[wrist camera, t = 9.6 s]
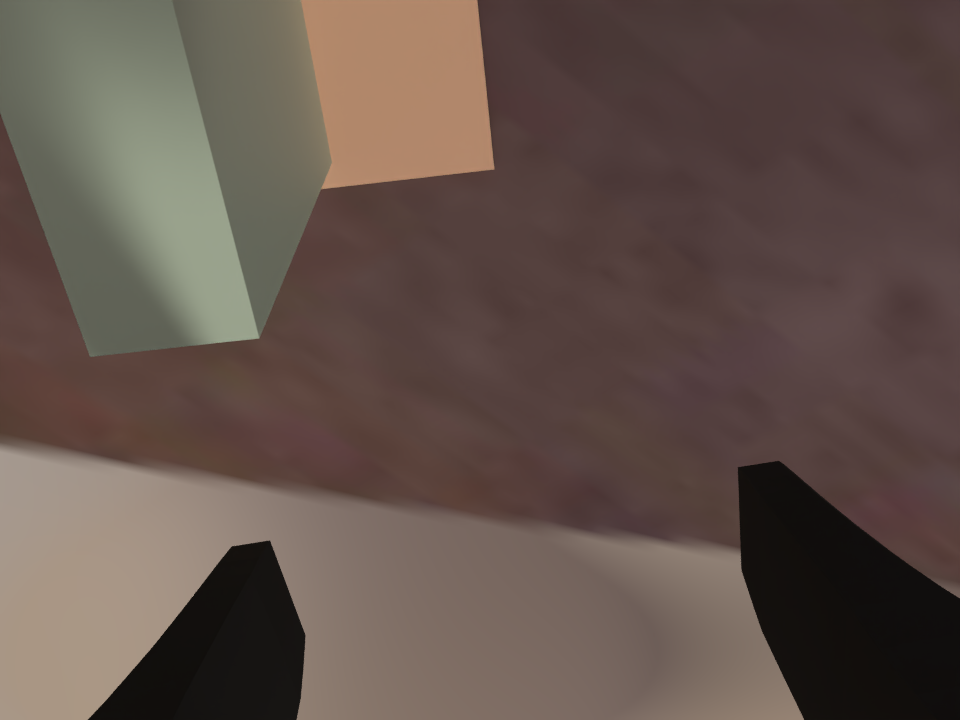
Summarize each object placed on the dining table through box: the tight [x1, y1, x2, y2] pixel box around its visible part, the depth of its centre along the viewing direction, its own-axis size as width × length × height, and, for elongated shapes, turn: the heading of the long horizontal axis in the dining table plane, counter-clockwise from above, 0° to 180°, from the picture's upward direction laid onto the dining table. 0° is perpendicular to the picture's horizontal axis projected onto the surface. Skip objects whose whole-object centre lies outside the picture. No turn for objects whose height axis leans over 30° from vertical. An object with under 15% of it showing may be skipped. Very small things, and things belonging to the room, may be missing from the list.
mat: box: [301, 0, 494, 189], centre depth 19 cm, size 10×7×1 cm
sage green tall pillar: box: [0, 0, 332, 357], centre depth 15 cm, size 2×6×9 cm, turn 6°
